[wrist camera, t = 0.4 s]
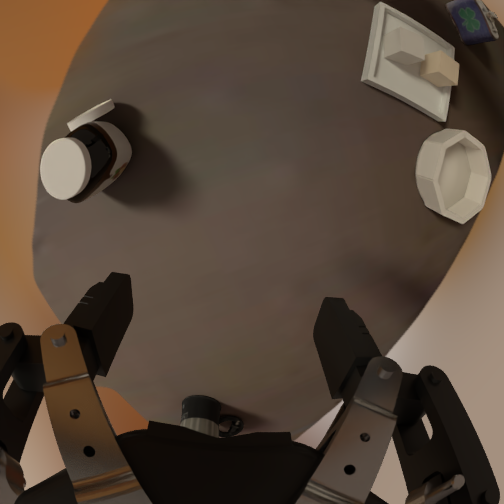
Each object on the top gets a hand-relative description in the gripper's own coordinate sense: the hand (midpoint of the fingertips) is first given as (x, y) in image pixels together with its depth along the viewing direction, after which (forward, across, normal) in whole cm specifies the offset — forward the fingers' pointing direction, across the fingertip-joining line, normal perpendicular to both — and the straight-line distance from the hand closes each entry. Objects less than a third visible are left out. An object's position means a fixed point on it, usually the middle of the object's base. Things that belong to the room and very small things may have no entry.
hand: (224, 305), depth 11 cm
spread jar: (+28, +20, -4) cm, 35 cm away
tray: (+28, -23, -25) cm, 44 cm away
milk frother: (+28, -1, +53) cm, 60 cm away
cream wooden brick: (+27, -27, -24) cm, 45 cm away
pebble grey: (+27, -20, -25) cm, 42 cm away
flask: (+29, -34, -40) cm, 60 cm away
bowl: (+28, -34, -9) cm, 45 cm away
